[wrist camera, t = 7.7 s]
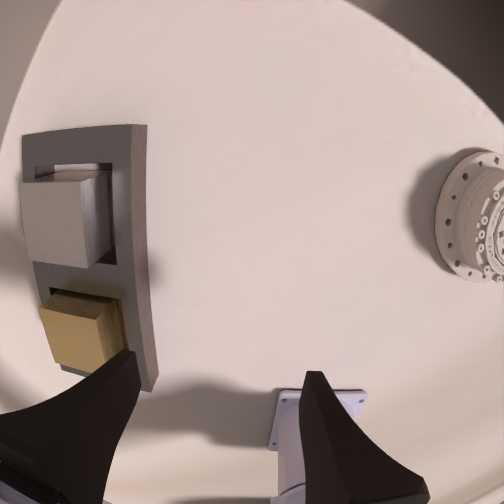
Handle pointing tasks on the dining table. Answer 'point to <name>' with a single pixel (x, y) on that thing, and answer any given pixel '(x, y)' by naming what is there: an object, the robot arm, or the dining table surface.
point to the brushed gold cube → (83, 328)
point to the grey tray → (125, 228)
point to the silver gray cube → (68, 217)
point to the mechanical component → (473, 218)
